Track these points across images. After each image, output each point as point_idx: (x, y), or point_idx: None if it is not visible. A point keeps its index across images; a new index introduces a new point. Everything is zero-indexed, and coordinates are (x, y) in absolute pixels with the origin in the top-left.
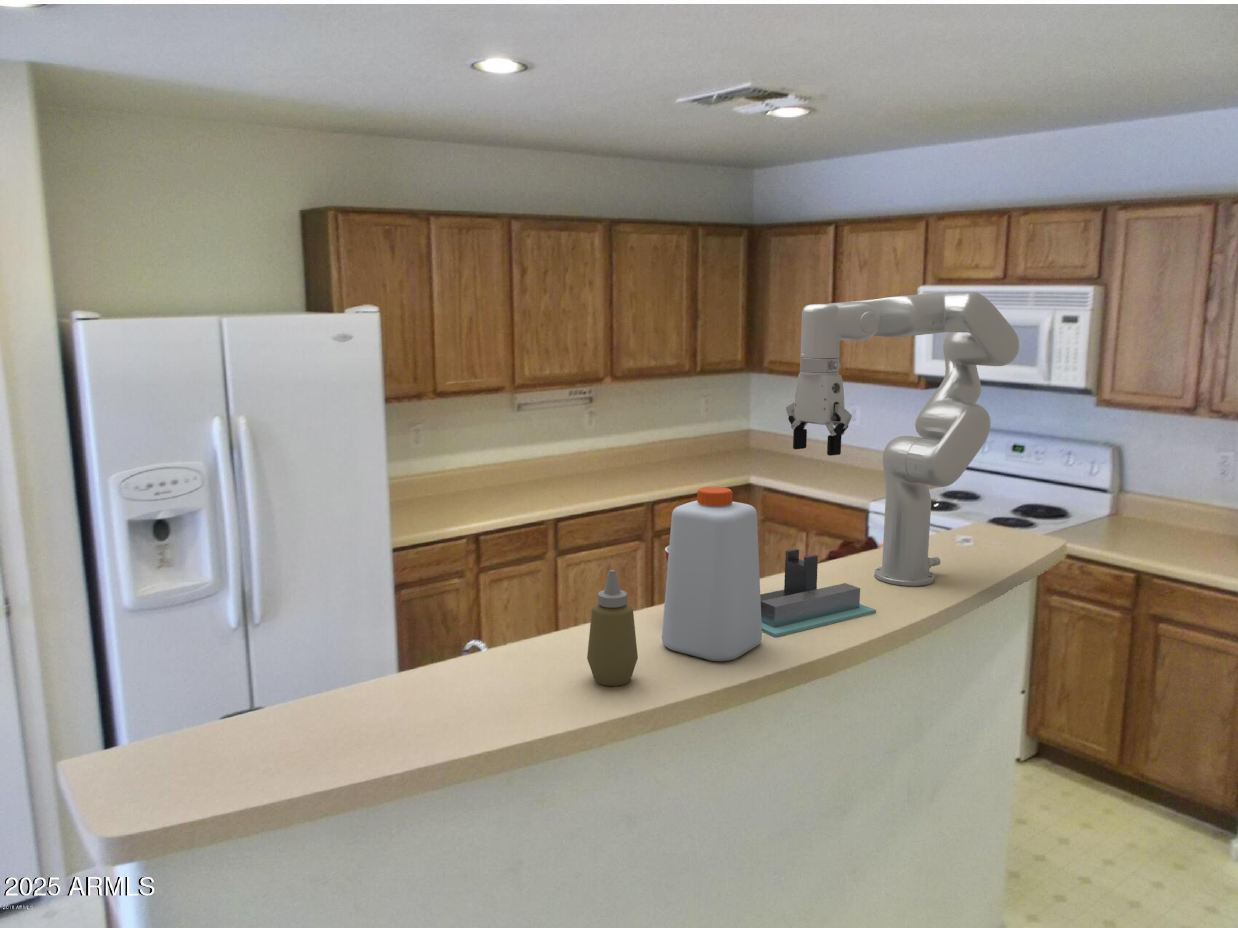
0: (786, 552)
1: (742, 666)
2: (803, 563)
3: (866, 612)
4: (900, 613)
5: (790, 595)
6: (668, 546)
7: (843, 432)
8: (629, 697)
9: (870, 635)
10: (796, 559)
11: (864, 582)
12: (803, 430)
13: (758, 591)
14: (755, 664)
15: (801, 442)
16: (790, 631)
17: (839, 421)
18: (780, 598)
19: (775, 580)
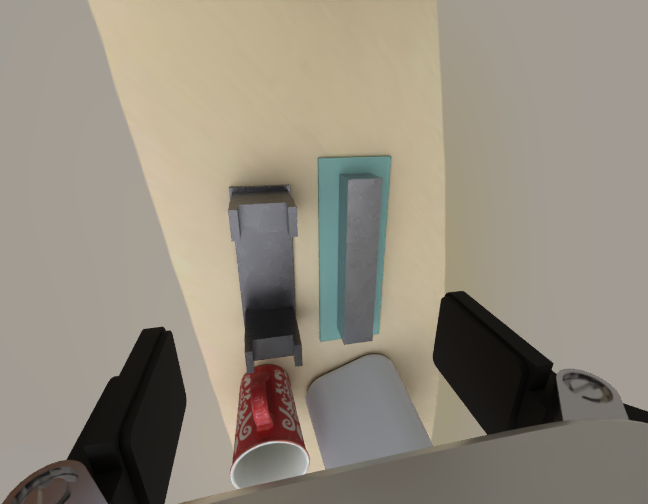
0: (234, 239)
1: (413, 391)
2: (270, 218)
3: (389, 178)
4: (412, 122)
5: (347, 298)
6: (238, 488)
7: (603, 391)
8: None
9: (439, 231)
10: (238, 211)
11: (252, 20)
12: (140, 469)
13: (416, 411)
14: (417, 380)
15: (170, 393)
16: (379, 311)
17: (609, 432)
18: (349, 316)
19: (161, 182)
